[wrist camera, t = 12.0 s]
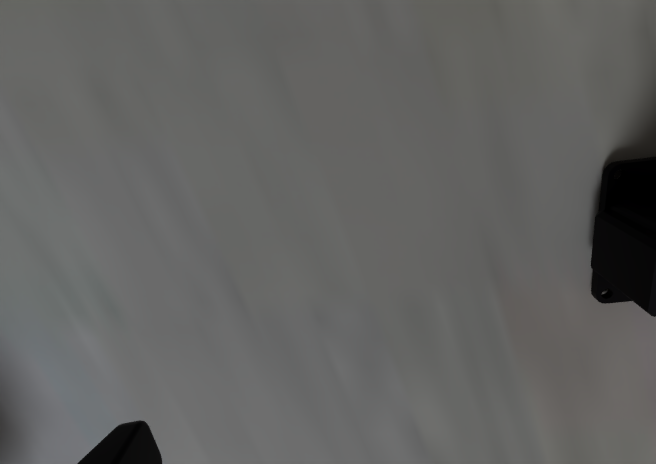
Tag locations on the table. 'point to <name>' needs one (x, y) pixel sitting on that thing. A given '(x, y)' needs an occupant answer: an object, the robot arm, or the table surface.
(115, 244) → the table surface
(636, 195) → the robot arm
